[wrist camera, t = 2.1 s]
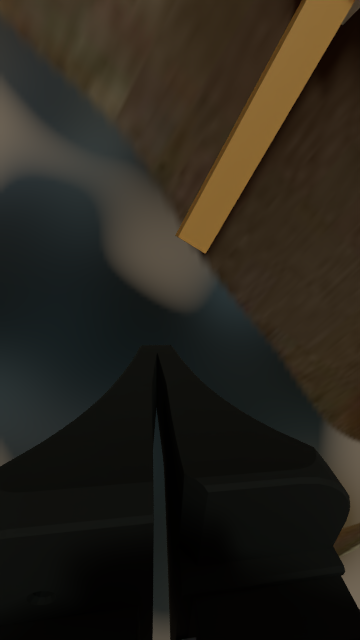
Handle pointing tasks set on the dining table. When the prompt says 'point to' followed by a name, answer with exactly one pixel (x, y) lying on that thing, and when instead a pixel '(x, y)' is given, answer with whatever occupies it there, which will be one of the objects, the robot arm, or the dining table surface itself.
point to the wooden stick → (264, 115)
